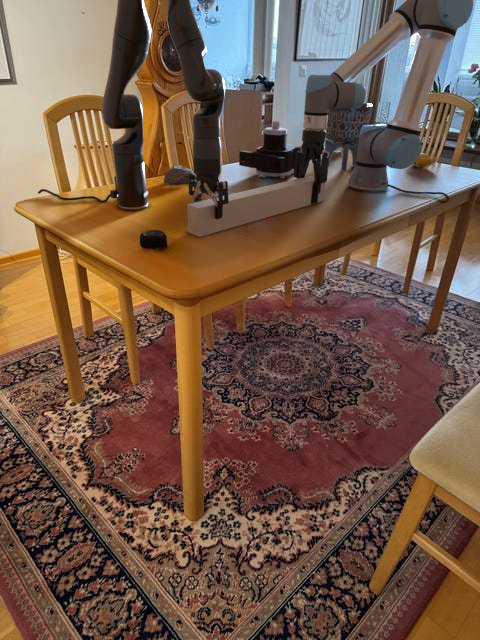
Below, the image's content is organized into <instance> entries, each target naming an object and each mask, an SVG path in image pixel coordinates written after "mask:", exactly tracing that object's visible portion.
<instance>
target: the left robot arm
mask: <svg viewBox="0 0 480 640" xmlns="http://www.w3.org/2000/svg"><path fill="white" fill-rule="evenodd" d="M166 2H167V5H166V6H167V7H166V17H167V18H166V20H167V21H166V22H167V28H168V32H169V35H170V38H171V40H172V43H173V45H174V48H175V51H176V53H177V55H178V58H179V63H180V69H181V74H182V75H181V76H182V80H183V84H184V87H185V90H186V92H187V94H188V95H189V97H190V98H191V99H192V100H194V101H195V102H199V108H198V111H197V112H195V113H194V114H193V116H192V136H193V137H192V139H193V140H192V164H193V167H192V168H193V171H194V174H189V182H188V183H189V184H188V195H189V196H192V199H193V201H194V202H193V203H195V202H199V201H203V196H204V194H206V196H209V199H212V200H213V202H214V204H215V206H214V218H215V219H221V218H222V216H223V205H224V204H228V202H229V201H228V195H229V182H228V181H227V180H223V181H221V180H220V174H222V141H221V116H222V113H223V107H224V102H225V95H226V85H225V79H224V77H223V75H222V74H221V72H219V71H218V70H217V69H213V68H206V65H205V61H204V57H205V56H206V55H207V53H208V52H207V51H208V50H207V46H206V45H207V44H206V42H205V40H204V37H203V34H202V32H201V28H200V25H199V24H198V21H197V19H196V16H195V13H194V9H193V8H192V3H191V0H167V1H166ZM116 7H117V8H116V14H115V19H114V20H115V21H114V27H113V36H112V44H111V45H112V46H111V54H110V61H109V70H108V75H107V80H106V84H105V89H104V93H103V97H102V103H101V104H102V105H101V115H102V116H101V117H102V120H103V123H104V125H105V126H106V127H107V128H108V129H110V130H125V131H124V133H123V134H122V136H121V137H119V138H118V139H116V140H114V141H113V142H112V144H111V149H112V159H113V165H114V174H115V176H114V178H113V180H114V188H115V189H110V190H109V194H108V195H107V196H106V197H105V199H103V200H102V199H100V198H99V197H97V196H93V195H85V196H77V197H64V196H61V195H59V194H57V193H54V192H53V191H50V190H48V189H45V188H41V189H40V190H38V192H37V194H38V195H39V194H41V193H42V192H45V193H47V194H50V195H51V196H54V197H56V198H58V199H59V200H62V201H77V200H79V201H80V200H87V199H88V200H89V199H90V200H91V199H92V200H96V201H98V202H99V203H102V204H105V203H107V202H108V201H109V200H110V198H111V199H113V200H114V199H116V204H117V205H116V206H117V207H118V208H119V209H120V210H123V211H131V212H132V211H141V210H144V209H147V208H148V207H149V202H148V195H149V190H147V181H146V169H145V157H144V144H145V143H144V141H145V140H144V139H145V138H144V137H145V135H144V112H143V107H142V103H141V101H140V98H139V97H138V95H136V94H132V93H131V94H130V93H129V94H126V93H125V92H126V89H127V87H128V85H129V83H131V80H132V79H133V78H134V77H135V76H136V75H137V73H138V72H139V71H140V69H141V68H142V67H143V65H144V64H145V62H146V60H147V58H148V54H149V49H150V43H151V38H152V25H151V21H150V17H149V14H148V11H147V8H146V5H145V0H117V4H116ZM223 196H224V200H223ZM217 198H218V200H219V201H217Z"/></svg>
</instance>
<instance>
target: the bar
mask: <svg viewBox="0 0 480 640" xmlns="http://www.w3.org/2000/svg"><path fill="white" fill-rule="evenodd" d="M314 183H315V179H314V174H313V175H308V176H305V177H304V178H300V179H297V178H295V179H291V180H288V181H287V180H286V181H283V182H278V183H274V184H269V185H265V186H260V187H257V188H256V187H255V188H253V189H247V190H242V191H239V192H234V193H231V194H228V201H229V202H228V204H224V205H223V216H222V218H221V219H215V218H214V206H215V204H214V202H213V200H212V199H211V198H209V199H204V200H202V201H199V202H195V203H194V202H192V203H186V211H187V232H188V234H191V235H193V236H196V237H198V238H201V237H205V236H208V235H212V234H214V233H218V232H222V231H226V230H229V229H232V228H235V227H239V226H243V225H246V224H249V223H253V222H257V221H259V220H263V219H267V218H270V217H273V216H277V215H280V214H284V213H287V212H291V211H294V210H297V209H301V208H304V207H307V206H311V205H315V204H318V203H321V202H324V194H325V184H326V182H325V183H322V184H321V189H320V193H319V194H318V202H317V203H313V204H312V203H311V197H312V187H313V184H314ZM223 200H224V196H223ZM217 201H219V200H218V198H217Z"/></svg>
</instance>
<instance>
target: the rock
mask: <svg viewBox="0 0 480 640" xmlns="http://www.w3.org/2000/svg"><path fill="white" fill-rule="evenodd" d="M189 174H194V169H193V170H192V169H191V168H188V167H186V166H183V165H180V164H178V163H174V164H173V166H172V167H170V168H169V169H168V170H167V171H166V172H165V174H164V177H163V183H164V185H169V186H180V185H184V186H185V185H189Z"/></svg>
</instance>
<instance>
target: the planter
mask: <svg viewBox="0 0 480 640" xmlns="http://www.w3.org/2000/svg"><path fill="white" fill-rule="evenodd" d="M373 107H374V106H373V104H372V103H367V102H364V103H363V105H362V106H361V107H360V108H354V109H329V110H328V118H327V128H326V129H324V130H325V131H326V137H325V142H324V150H325V151H327V152H331V156H330V158H329V164H328V166H329V165H330V163H331V158H332V156H333V154H334V153H335V152H336V151H335V150H336V149H338V148H340V147H342V151H341V152H342V153H341V166H340V170H341V172H345V171H347V167H348V166H347V165H348V159H349V152H350V154H351V157H352V158H351V159H352V160H351V161H352V166H353V167H355V165H356V158H357V151H358V144H359V135H360V131H361V128H362V126H364V125H370V121H371V116H372V112H373Z"/></svg>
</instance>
